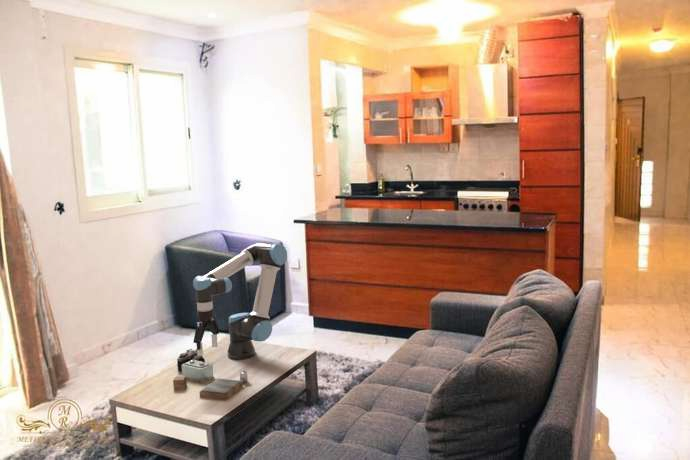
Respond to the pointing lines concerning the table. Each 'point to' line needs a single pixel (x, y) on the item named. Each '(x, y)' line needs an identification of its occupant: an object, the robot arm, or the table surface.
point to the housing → (197, 370)
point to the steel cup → (243, 377)
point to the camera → (188, 358)
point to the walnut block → (179, 382)
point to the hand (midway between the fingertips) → (207, 351)
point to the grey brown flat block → (221, 389)
